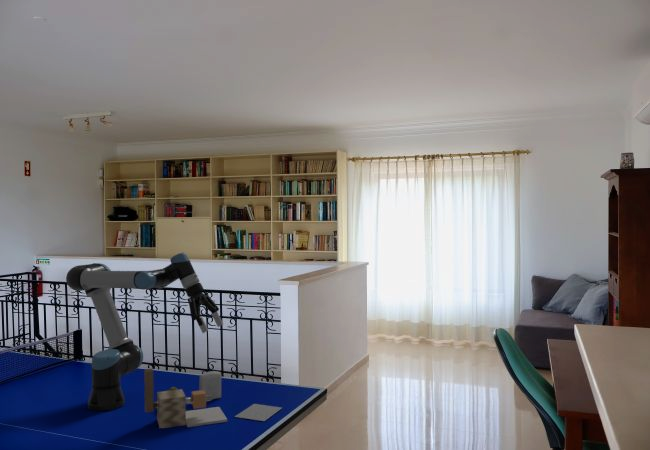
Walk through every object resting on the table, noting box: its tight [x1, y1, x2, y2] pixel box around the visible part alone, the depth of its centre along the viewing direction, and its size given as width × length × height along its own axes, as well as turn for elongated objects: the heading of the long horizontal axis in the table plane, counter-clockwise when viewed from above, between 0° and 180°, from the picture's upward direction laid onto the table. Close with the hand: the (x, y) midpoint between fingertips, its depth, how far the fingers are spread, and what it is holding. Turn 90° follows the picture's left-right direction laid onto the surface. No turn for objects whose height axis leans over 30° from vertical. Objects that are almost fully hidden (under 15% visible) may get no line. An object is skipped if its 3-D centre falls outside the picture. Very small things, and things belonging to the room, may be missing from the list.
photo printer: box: [198, 370, 222, 400], centre depth 249 cm, size 10×4×12 cm, turn 123°
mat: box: [185, 406, 228, 428], centre depth 226 cm, size 16×16×1 cm
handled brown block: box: [144, 368, 213, 414], centre depth 222 cm, size 26×4×16 cm, turn 112°
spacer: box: [191, 390, 207, 410], centre depth 225 cm, size 5×5×6 cm
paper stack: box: [234, 403, 283, 422], centre depth 237 cm, size 23×25×1 cm
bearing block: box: [156, 388, 187, 429], centre depth 220 cm, size 10×10×11 cm
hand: (213, 328), depth 241 cm, fingers open, 13 cm apart
